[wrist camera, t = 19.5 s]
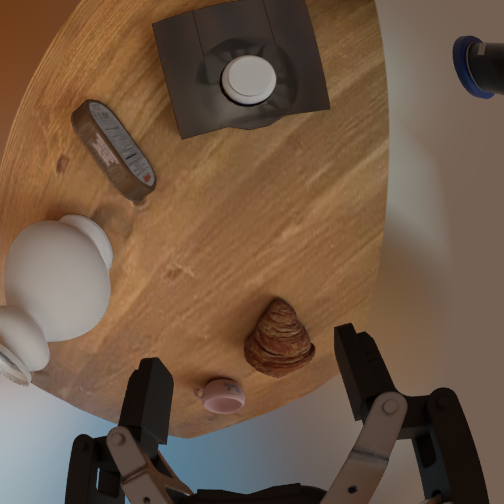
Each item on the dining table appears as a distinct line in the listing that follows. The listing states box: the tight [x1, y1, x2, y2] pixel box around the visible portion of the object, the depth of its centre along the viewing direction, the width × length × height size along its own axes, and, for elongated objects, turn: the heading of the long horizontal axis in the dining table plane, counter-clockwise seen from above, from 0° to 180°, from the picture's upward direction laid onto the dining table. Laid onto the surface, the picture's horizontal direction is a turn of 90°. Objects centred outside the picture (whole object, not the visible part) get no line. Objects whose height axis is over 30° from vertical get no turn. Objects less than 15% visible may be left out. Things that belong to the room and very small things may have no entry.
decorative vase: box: [0, 214, 113, 386], centre depth 28 cm, size 18×18×25 cm
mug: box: [194, 379, 245, 413], centre depth 57 cm, size 12×10×6 cm
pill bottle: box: [222, 55, 276, 105], centre depth 25 cm, size 6×5×10 cm
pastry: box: [244, 299, 315, 378], centre depth 48 cm, size 17×15×8 cm
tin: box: [71, 99, 156, 202], centre depth 28 cm, size 15×3×8 cm, turn 31°
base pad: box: [152, 0, 330, 140], centre depth 26 cm, size 18×17×3 cm
